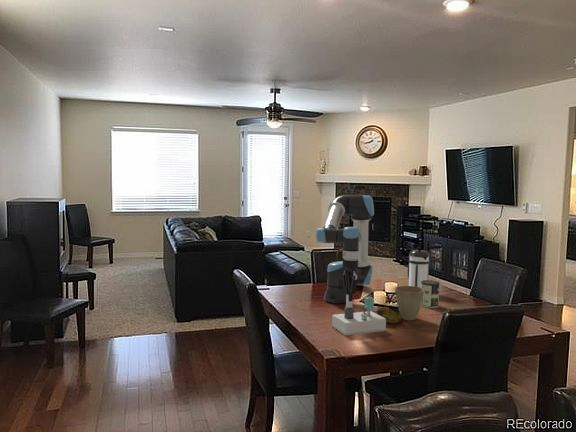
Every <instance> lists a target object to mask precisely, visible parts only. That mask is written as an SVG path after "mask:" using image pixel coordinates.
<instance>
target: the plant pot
mask: <svg viewBox="0 0 576 432" xmlns="http://www.w3.org/2000/svg"><path fill="white" fill-rule="evenodd" d="M394 289H395V296H396V297H395V298H396V299H395V300H396V303H397V309H398V313H399V314H401V315H402V320H405V321H415V320H417V317H418V314H419V312H420V309H421V307H422V306H421V303H422V300H423V295H424V289H422V288H420V287H415V286H408V285H398V286H396V287H394Z"/></svg>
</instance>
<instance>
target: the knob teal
mask: <svg viewBox="0 0 576 432" xmlns="http://www.w3.org/2000/svg"><path fill="white" fill-rule="evenodd" d="M374 301H375V299H374V297H372V296H365V297H364V306H363V307H364V309H365V310H366V309H367V310H366V312H367V317H370V311H372V310H373V309H374Z"/></svg>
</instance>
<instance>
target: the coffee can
mask: <svg viewBox="0 0 576 432" xmlns="http://www.w3.org/2000/svg"><path fill="white" fill-rule="evenodd" d="M421 288H422V289H424V295H423V300H422V303H421V307H423V308H428V309H436V308H439V301H440V299H439V298H440V282H439V281H436V280H430V279H428V280H424V281H421Z"/></svg>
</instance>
